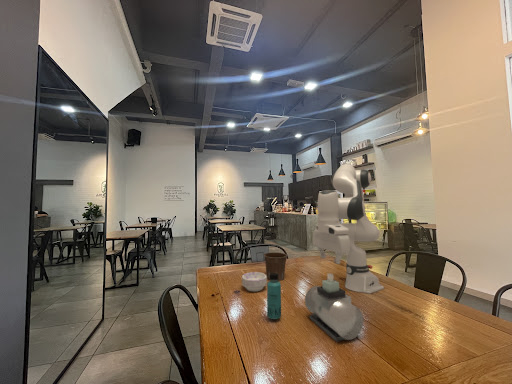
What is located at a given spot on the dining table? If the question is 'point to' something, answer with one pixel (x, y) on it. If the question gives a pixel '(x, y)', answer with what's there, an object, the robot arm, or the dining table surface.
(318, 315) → the motor
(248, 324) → the dining table surface
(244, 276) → the paper bowls
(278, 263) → the plant pot
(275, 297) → the beverage bottle
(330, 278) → the block
